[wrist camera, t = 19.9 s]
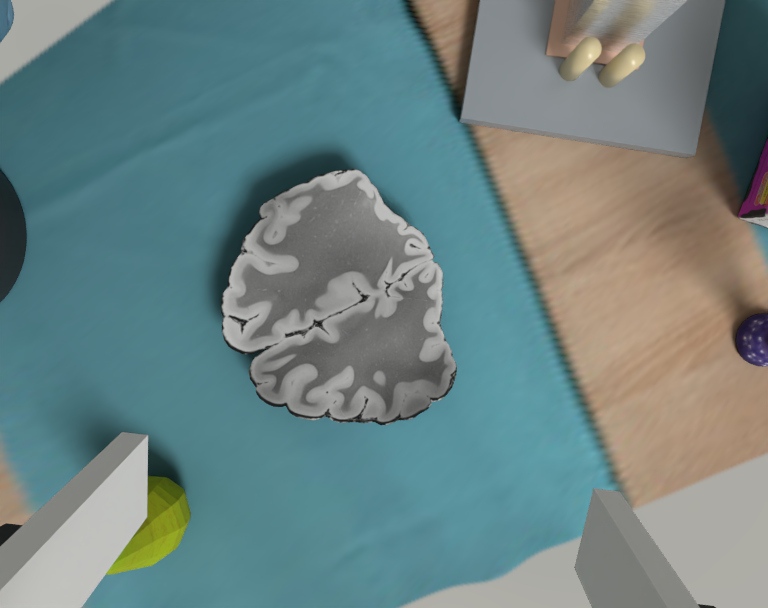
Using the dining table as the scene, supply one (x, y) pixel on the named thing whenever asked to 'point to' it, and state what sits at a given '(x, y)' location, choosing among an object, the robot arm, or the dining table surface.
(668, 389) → the dining table surface
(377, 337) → the brain slice
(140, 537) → the fruit
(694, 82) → the pin tray
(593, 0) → the block
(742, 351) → the toy lamp
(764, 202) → the candy bar box
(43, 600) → the robot arm
